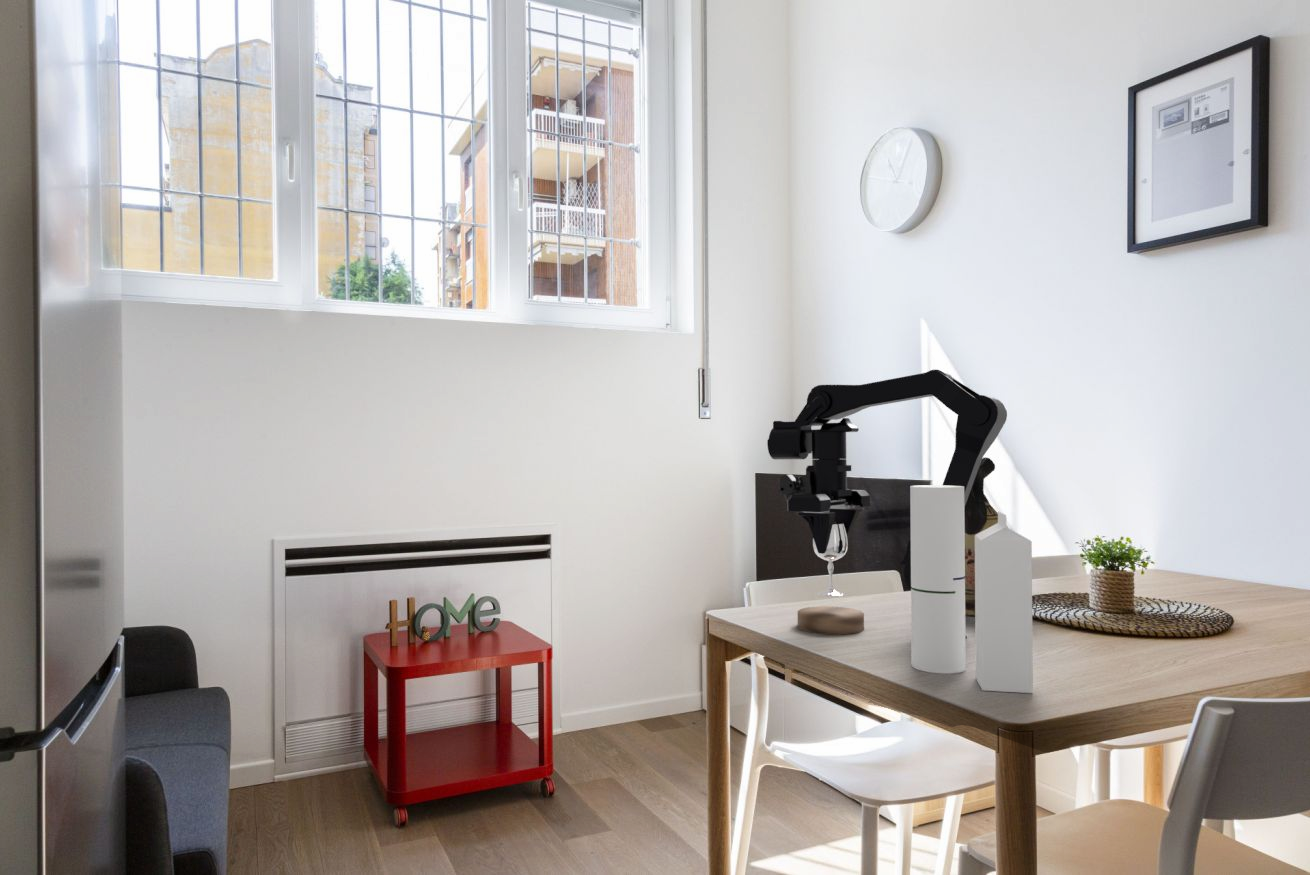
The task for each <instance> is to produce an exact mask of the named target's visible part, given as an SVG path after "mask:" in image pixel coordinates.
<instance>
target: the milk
mask: <svg viewBox="0 0 1310 875" xmlns="http://www.w3.org/2000/svg"><path fill="white" fill-rule="evenodd" d="M997 513H998V523H997V524H995V525H993V526H991V527H989V528H987V529H986V530H984V531H982V532H980V533H978V534H976V535H975V615H974V616H975V617H974V622H975V625H974V626H975V628H974V629H975V634H974V635H975V638H974V639H975V640H974V641H975V648H974V649H975V679H976V681H977V683H978V685H979V688H980V689H981V691H985V692H986V691H987V692H1002V693H1019V694H1020V693H1021V694H1033V693H1034V683H1033V682H1034V673H1033V672H1034V670H1033V668H1034V667H1033V666H1034V665H1033V663H1034V662H1033V657H1034V656H1033V561H1032V559H1033V558H1032V557H1033V553H1032V552H1033V550H1032V549H1033V547H1032V543H1033V542H1032V540H1030V539H1029V538H1027V537H1025V536H1023V535H1022V534H1019V533H1018V532H1016V531H1015V530H1013V529H1011V528H1009V527H1008V525H1007V514H1005V513H1003V512H1001V511H997Z"/></svg>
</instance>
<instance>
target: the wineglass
mask: <svg viewBox="0 0 1310 875" xmlns="http://www.w3.org/2000/svg"><path fill="white" fill-rule="evenodd" d="M848 546H849V544H848V538H847V534H846V529H845V525H844V523H840V522H833V525H832V529H831V533H830V537H829V541H828V545H827V548H826V551H825V553H824V554H822V553H818V550H817V547H816V544H815V541H814V538H813V537H812V547H813V551H814V553H815V555H816V556H817V557H818V558H820V559H822V560H824V561H827V562H828V564H827V571H828V575H829V583H828V588H827V589H826V590H822V591H819V592H817V595H819V596H823V597H843V596H845V593H844V592H841V591H839V590H836V589H835V588H834V586H833V574H834V568H835V567H834V566H835V565H834V563H833V562H834V561H838V560H839V559H841V558H843V557H845V555H846V553H847V552H848Z"/></svg>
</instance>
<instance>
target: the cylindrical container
mask: <svg viewBox="0 0 1310 875" xmlns="http://www.w3.org/2000/svg"><path fill="white" fill-rule="evenodd" d="M909 489H910V490H909V494H910V495H909V496H910V503H909V504H910V506H909V507H910V511H909V513H910V517H909V518H910V520H909V521H910V540H911V588H910V599H911V600H910V618H911V621H910V622H911V623H910V626H911V627H910V628H911V629H910V633H911V634H910V636H911V637H910V641H911V643H910V647H911V648H910V649H911V652H910V653H911V658H910V659H911V667H912V668H914V669H916V670H919V671H922V672H925V673H931V674H943V675H945V674H947V675H948V674H959V673H962V672H965V671H966V668H967V666H966V665H967V664H966V663H967V658H966V654H967V653H966V648H967V647H966V644H967V643H966V640H967V639H966V638H965V635H966V614H965V577H964V576H965V513H964V486H950V485H943V484H940V485H938V484H937V485H936V484H935V485H934V484H929V485H926V484H924V485H923V484H921V485H919V484H917V485H910V487H909Z"/></svg>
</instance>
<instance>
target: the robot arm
mask: <svg viewBox="0 0 1310 875" xmlns="http://www.w3.org/2000/svg"><path fill="white" fill-rule="evenodd" d="M930 397H934V398H936V399H937V400H938V401H939V402H941V403H942V404H943V405H944V406H945V407H946V408H948V409H949V410H950V411H952V412H953V413H954V414H956V415H957V420H956V425H955V442H954V443H955V444H954V446H955V447H954V452H953V454H952V457H951V461H950V463H949V466H948V468H947V472H946V474H945V477H944V479H943V483H942V485H950V486H964V507H965V505H966V502H967V499H968V496H969V494H970V491H971V488H972V485H973V483H974V480H975V477H976V474H977V471H978V469H979V466H980V463H981V460H982V459H983V458H984V456H985V454H986V453H987V451H988V450H989V449H990V448H991V446H992V444H993V443H994V442H995V441H996V439H997V437H998V435H999V434H1000V433H1001V430H1002V428H1003V427H1004V426H1005V423H1006V421H1007V417H1008V412H1007V411H1008V410H1007V409H1006V407H1005V405H1004V404H1003V402H1002V401H1001V400H999V399H998V398H995V397H994V396H988V395H982V394H979V393H978V392H976V391H975V390H973V389H971V388H970V387H969V386H966V385H965V384H964V383H962V382H960V381H958V380H957V379H956V378H954V377H952V375H951V374H950V373H949V372H947V371H945V370H941V369H940V370H939V369H932V370H929V371H926V372H922V373H917V374H916V373H915V374H912V375H906V376H901V377H895V378H889V379H885V380H880V381H874V382H870V383H864V384H819V385H815V386H814V387H812V388H811V390H810V392H809V393H808V395H807V399H806V404H805V405H804V406H803V408H802V410H801V411H800V413H799V414H798V416H797V417H796V419H795V420H794V421H785V420H774V421H773V422H772V428H771V430H770V431H769V435H768V439H767V443H766V444H767V450H768V454H769V456H770V458H771V459H773V460H805V459H807V458H808V456H809V454H811V459H812V460H811V462H812V463H811V464H810V465H807V466H806V468H805V474H804V475H802V476H797V477H795V476H794V475H793V474H791V473H790V474H784V475H781V476H780V477H779V481H778V490H777V491H778V493H779V494H781V495H783V496H784V498H785V501H786V504H787V505H786V511H787V512H796V514H797V516H800V517H801V518H802V519H803V520H804V521H806V522H807V524H808V526H809V530H810V533H811V535H812V539H813V538H814V541H815V544H816V547H817V550H818V553H822V554H824V553H825V551H826V548H827V545H828V541H829V537H830V533H831V529H832V525H833V522H840V523H844V525H845V529H846V534H847V539H849V537H850V533H851V531H852V529H853V527H854V525H855V523H856V522H857V520H858V518H859V516H860V513H862V512H863V509H862V508H864V507H870V506H871V495H870V494H869V493H868V492H867V491H866V490H865V489H851V488H850V489H849V488H848V482H847V481H848V480H847V478H848V477H847V476H848V475H847V474H848V473H847V472H852V464H847V433H857V432H859V428H858V427H857V425H855V424H854V423H853V422H852V421H851V419H850V418H848V417H849V416H852V415H854V414H857V413H859V412H861V411H862V410H865V409H868V408H871V407H876V406H877V407H878V406H883V405H889V404H893V403H895V404H896V403H900V402H906V401H911V400H917V399H925V398H930ZM846 417H847V418H846ZM840 419H841V420H840ZM832 420H835V421H836V420H840V421H839V422H830V421H832ZM812 427H820V428H818V429H812ZM856 506H860V507H862V508H856ZM899 564H900V566H901V565H902V566H903V567H902V570H901V571H902V576H901V577H902V578H903V580H904V582H905V584H906V585H907V586H908V588H909V589H911V539H910V540H908V543H907V546H906V552H905V556H904V557H903V559H902V561H900V562H899ZM965 638H966V640H967V639H968V636H967V635H966V634H965Z"/></svg>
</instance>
